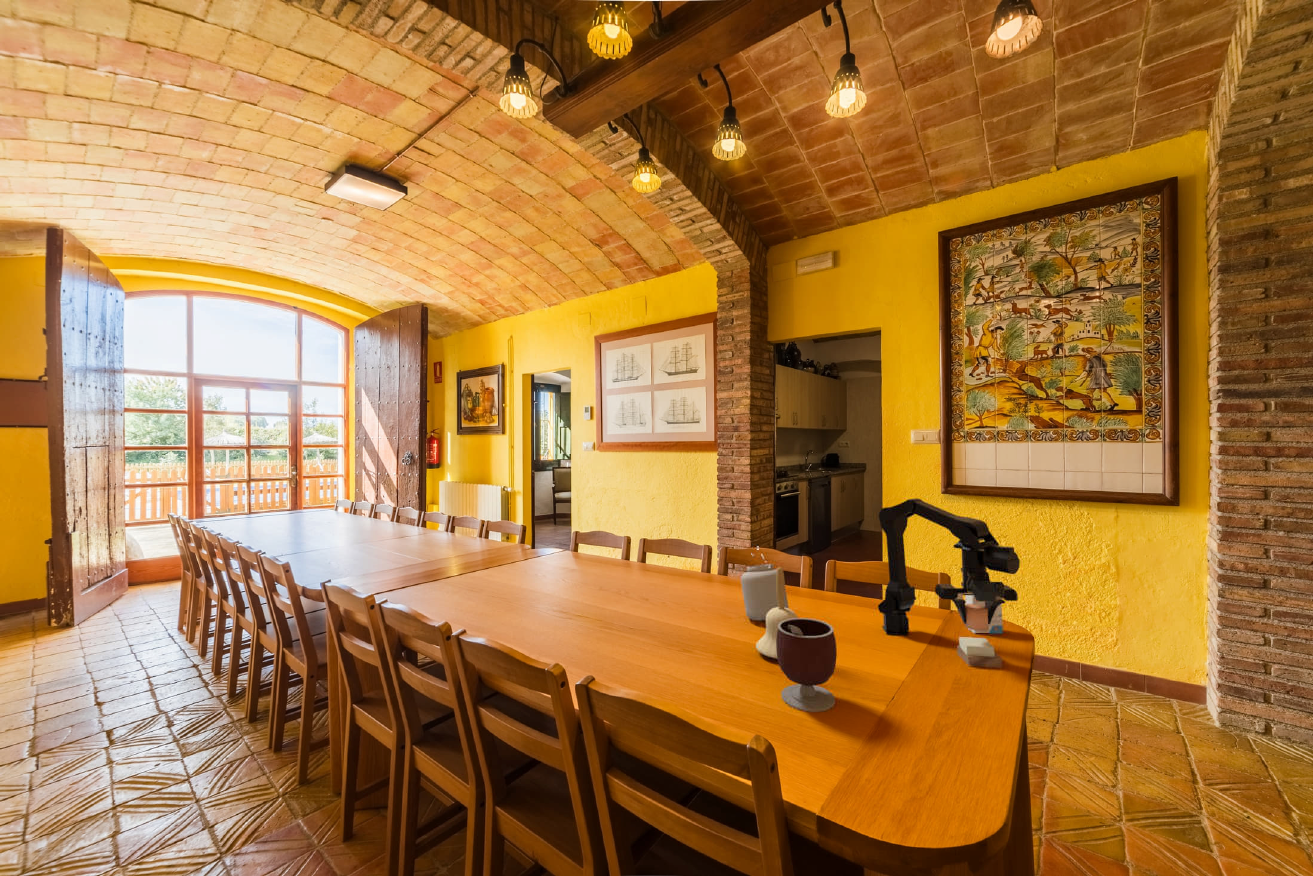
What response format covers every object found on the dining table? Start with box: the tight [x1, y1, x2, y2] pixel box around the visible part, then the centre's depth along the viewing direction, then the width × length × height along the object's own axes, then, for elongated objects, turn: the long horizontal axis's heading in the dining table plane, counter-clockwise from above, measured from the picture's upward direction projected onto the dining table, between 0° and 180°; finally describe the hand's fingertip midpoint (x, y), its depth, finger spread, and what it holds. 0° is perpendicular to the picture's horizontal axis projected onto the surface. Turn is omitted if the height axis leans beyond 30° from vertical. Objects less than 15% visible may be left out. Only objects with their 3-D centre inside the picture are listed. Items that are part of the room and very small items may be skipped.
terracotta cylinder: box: [964, 603, 988, 631], centre depth 141 cm, size 6×6×6 cm
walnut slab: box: [956, 644, 1003, 668], centre depth 141 cm, size 8×8×3 cm
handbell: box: [755, 566, 798, 660], centre depth 150 cm, size 15×15×25 cm
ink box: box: [964, 595, 1004, 635], centre depth 162 cm, size 9×5×12 cm, turn 84°
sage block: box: [958, 636, 995, 657], centre depth 142 cm, size 6×6×2 cm
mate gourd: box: [776, 617, 838, 713], centre depth 123 cm, size 16×14×20 cm
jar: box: [740, 545, 790, 621], centre depth 181 cm, size 19×15×25 cm
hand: (976, 623), depth 141 cm, fingers closed on terracotta cylinder, 5 cm apart
